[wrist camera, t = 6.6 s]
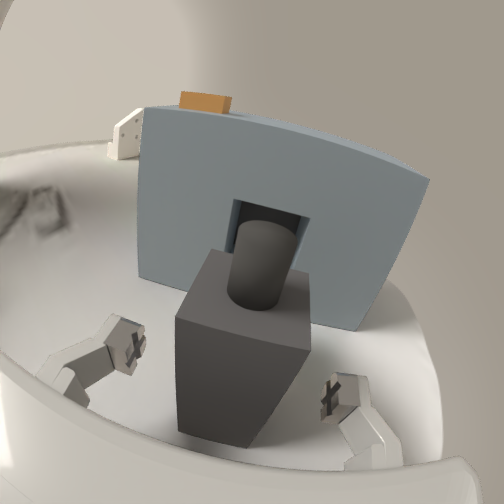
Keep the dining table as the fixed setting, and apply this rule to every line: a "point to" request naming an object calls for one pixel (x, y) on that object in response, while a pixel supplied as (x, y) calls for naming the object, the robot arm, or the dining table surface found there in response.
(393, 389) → the dining table surface
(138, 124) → the white wedge bracket
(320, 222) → the socket
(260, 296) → the plug
